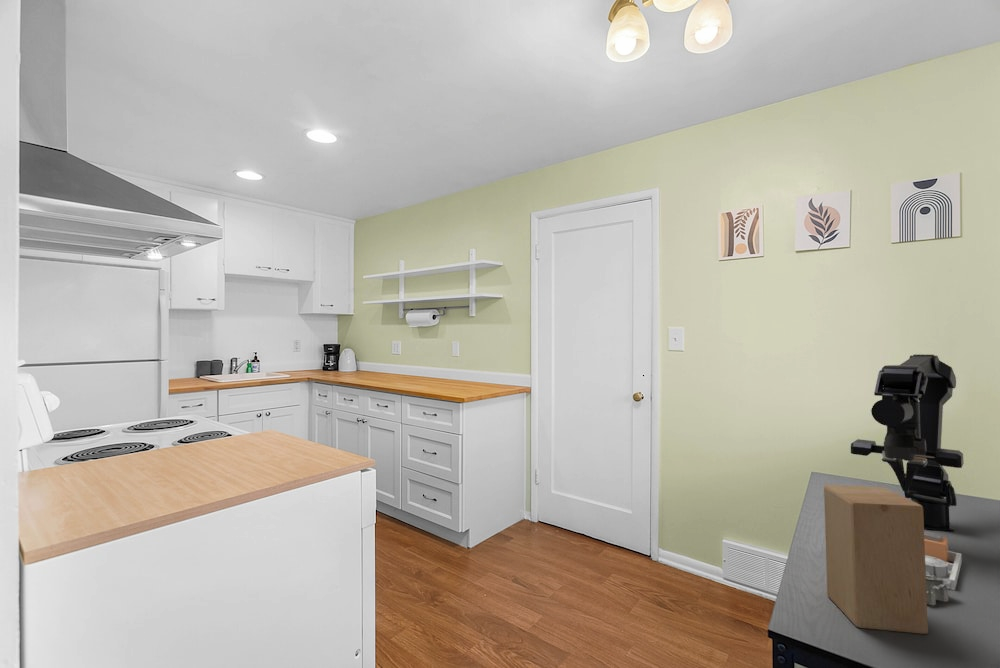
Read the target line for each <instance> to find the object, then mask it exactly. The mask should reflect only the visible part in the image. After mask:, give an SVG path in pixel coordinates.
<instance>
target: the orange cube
mask: <svg viewBox="0 0 1000 668" xmlns="http://www.w3.org/2000/svg"><path fill="white" fill-rule="evenodd" d="M948 539H949V538H948V537H944V536H943V534H942V533H937V532H934V531H933V532H932V531H929V530H928V531H927V530H926V531H924V542H925V555H927V556H931V557H935V558H937V559H941V560H943V561H945V562H948V563H950V561H949V555H948V551H949V540H948Z"/></svg>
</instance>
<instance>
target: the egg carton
mask: <svg viewBox="0 0 1000 668" xmlns="http://www.w3.org/2000/svg"><path fill="white" fill-rule="evenodd" d="M950 582H951V580H944V579H942V578H937V577H935V576H934V575H933V576H931V575H930V574H929V573H928V572H926V594H927V605H930V606H936V604H937V603H936V602H937V601H940V602H948V601H949V589H948V588H947V587H948V585H949V584H950Z"/></svg>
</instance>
